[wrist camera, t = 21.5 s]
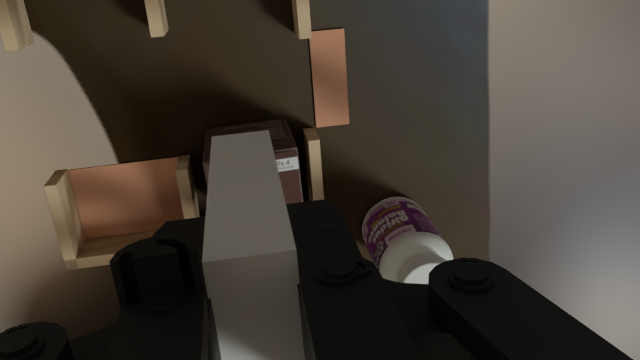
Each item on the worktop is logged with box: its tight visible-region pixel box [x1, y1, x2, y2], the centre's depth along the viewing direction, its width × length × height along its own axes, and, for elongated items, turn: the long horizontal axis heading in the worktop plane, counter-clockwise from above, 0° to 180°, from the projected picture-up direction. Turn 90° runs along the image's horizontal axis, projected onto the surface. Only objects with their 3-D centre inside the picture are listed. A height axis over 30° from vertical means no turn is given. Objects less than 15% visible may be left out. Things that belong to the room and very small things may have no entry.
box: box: [203, 118, 303, 204], centre depth 40 cm, size 6×6×7 cm
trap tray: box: [0, 0, 349, 270], centre depth 39 cm, size 24×22×3 cm
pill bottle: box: [362, 197, 453, 284], centre depth 43 cm, size 5×5×10 cm
